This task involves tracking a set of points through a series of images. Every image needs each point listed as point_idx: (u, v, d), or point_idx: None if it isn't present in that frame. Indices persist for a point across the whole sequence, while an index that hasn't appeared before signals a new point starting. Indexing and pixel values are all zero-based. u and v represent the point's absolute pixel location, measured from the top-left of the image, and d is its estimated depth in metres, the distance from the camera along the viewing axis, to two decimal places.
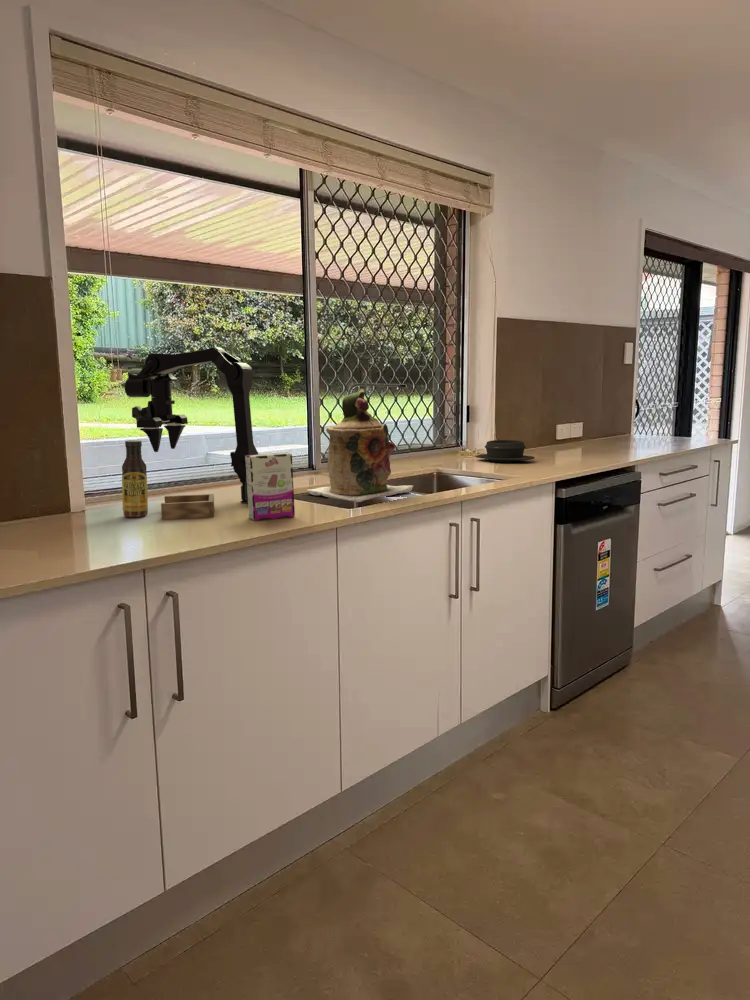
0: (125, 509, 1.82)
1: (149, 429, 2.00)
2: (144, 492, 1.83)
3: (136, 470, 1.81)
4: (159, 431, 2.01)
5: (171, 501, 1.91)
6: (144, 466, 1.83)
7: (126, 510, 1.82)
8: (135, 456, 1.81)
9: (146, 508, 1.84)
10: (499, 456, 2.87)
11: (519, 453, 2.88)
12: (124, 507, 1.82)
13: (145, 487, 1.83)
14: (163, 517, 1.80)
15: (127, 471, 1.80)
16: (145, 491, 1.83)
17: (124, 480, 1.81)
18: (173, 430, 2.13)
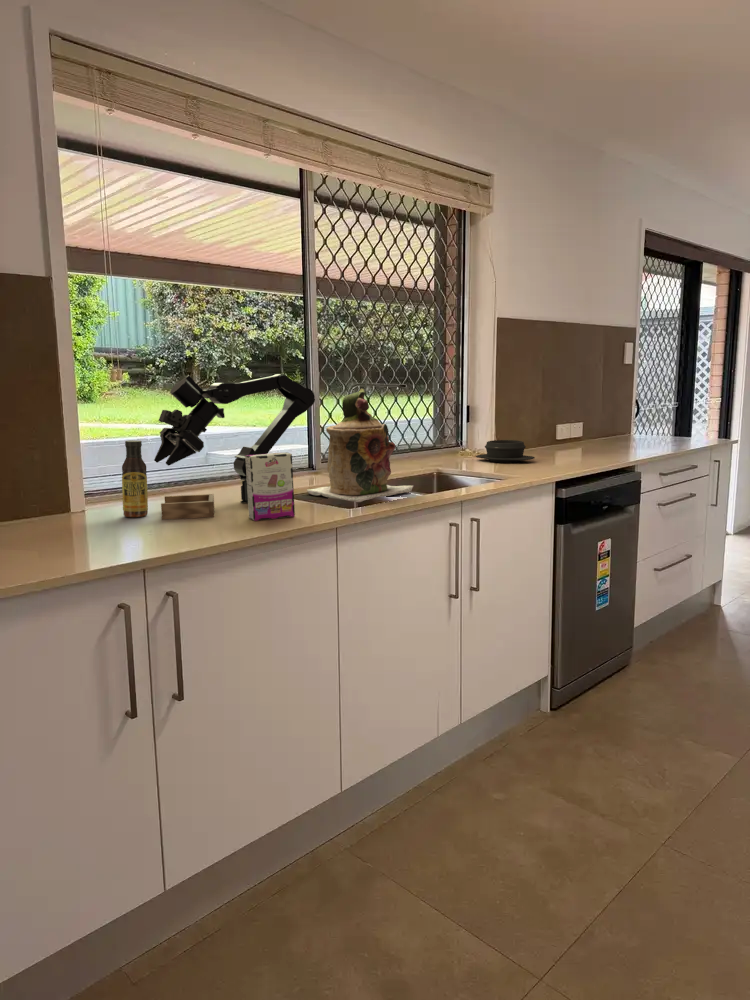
0: (125, 509, 1.82)
1: (189, 447, 1.83)
2: (144, 492, 1.83)
3: (136, 470, 1.81)
4: None
5: (171, 501, 1.91)
6: (144, 466, 1.83)
7: (126, 510, 1.82)
8: (135, 456, 1.81)
9: (146, 508, 1.84)
10: (499, 456, 2.87)
11: (519, 453, 2.88)
12: (124, 507, 1.82)
13: (145, 487, 1.83)
14: (163, 517, 1.80)
15: (127, 471, 1.80)
16: (145, 491, 1.83)
17: (124, 480, 1.81)
18: (169, 446, 1.93)
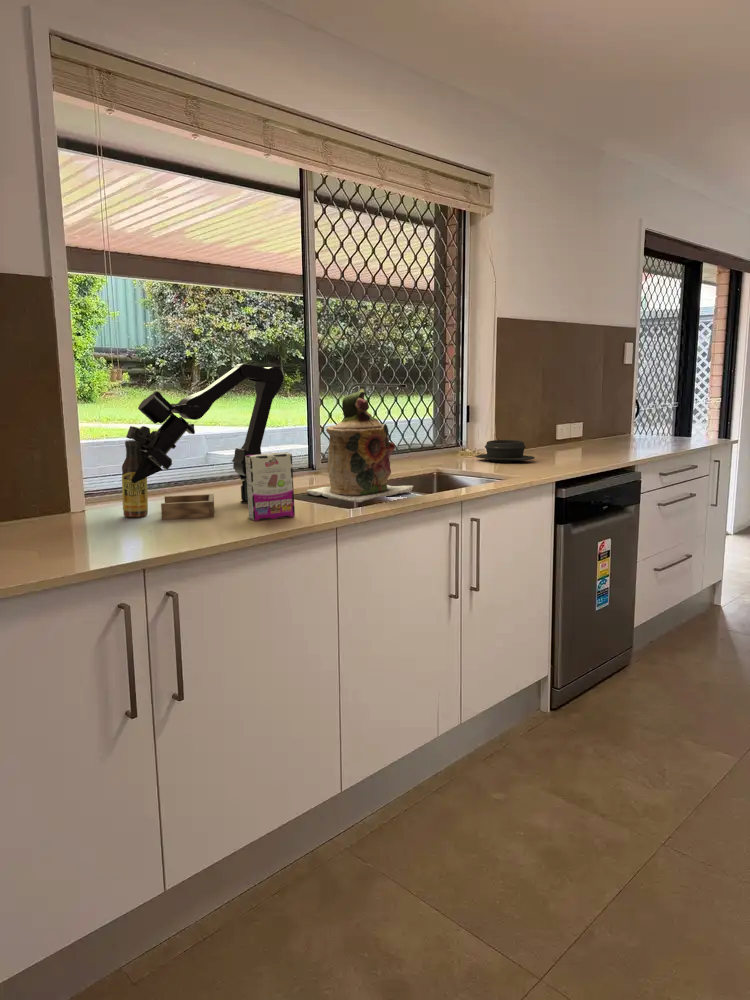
0: (125, 509, 1.82)
1: (155, 464, 1.79)
2: (144, 492, 1.83)
3: (136, 470, 1.81)
4: None
5: (171, 501, 1.91)
6: None
7: (126, 510, 1.82)
8: (135, 456, 1.81)
9: (146, 508, 1.84)
10: (499, 456, 2.87)
11: (519, 453, 2.88)
12: (124, 507, 1.82)
13: (145, 487, 1.83)
14: (163, 517, 1.80)
15: (127, 471, 1.80)
16: (145, 491, 1.83)
17: (124, 480, 1.81)
18: None
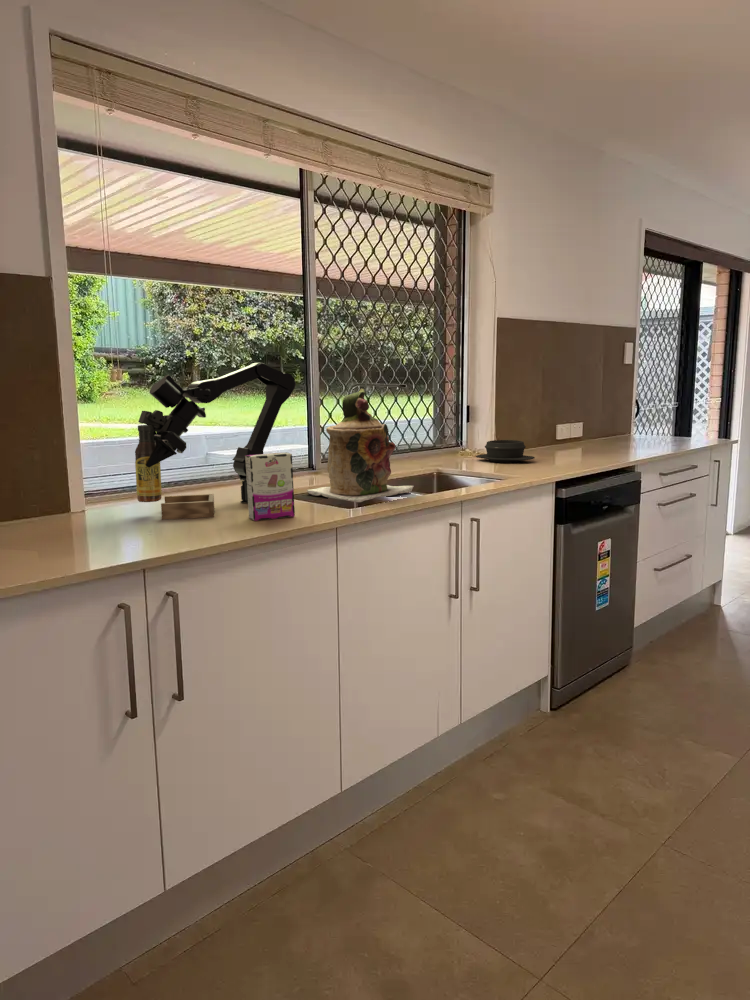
0: (139, 494, 1.82)
1: (169, 448, 1.80)
2: (158, 476, 1.83)
3: (150, 455, 1.80)
4: None
5: (171, 501, 1.91)
6: None
7: (141, 494, 1.82)
8: (148, 441, 1.81)
9: (160, 492, 1.84)
10: (499, 456, 2.87)
11: (519, 453, 2.88)
12: (138, 492, 1.82)
13: (159, 471, 1.83)
14: (163, 517, 1.80)
15: (141, 455, 1.80)
16: (159, 475, 1.83)
17: (138, 465, 1.81)
18: None
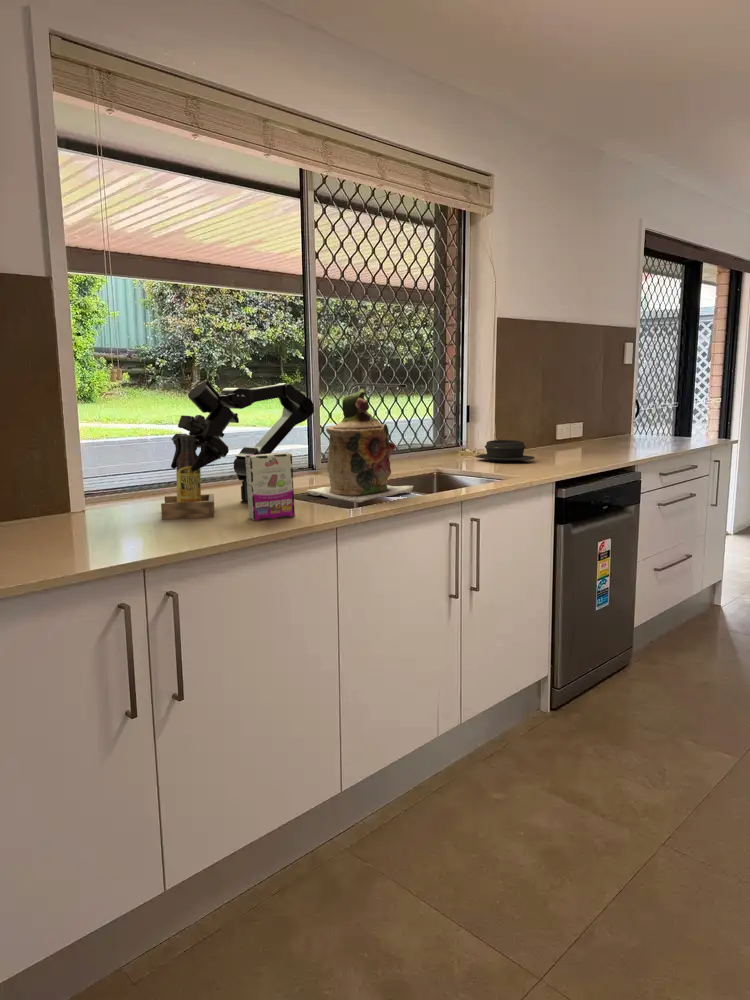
0: None
1: (215, 452, 1.82)
2: (199, 485, 1.86)
3: None
4: None
5: (171, 501, 1.91)
6: None
7: None
8: (191, 450, 1.84)
9: None
10: (499, 456, 2.87)
11: (519, 453, 2.88)
12: (180, 501, 1.85)
13: (200, 480, 1.87)
14: (163, 517, 1.80)
15: (185, 465, 1.83)
16: (200, 484, 1.87)
17: (181, 474, 1.83)
18: None
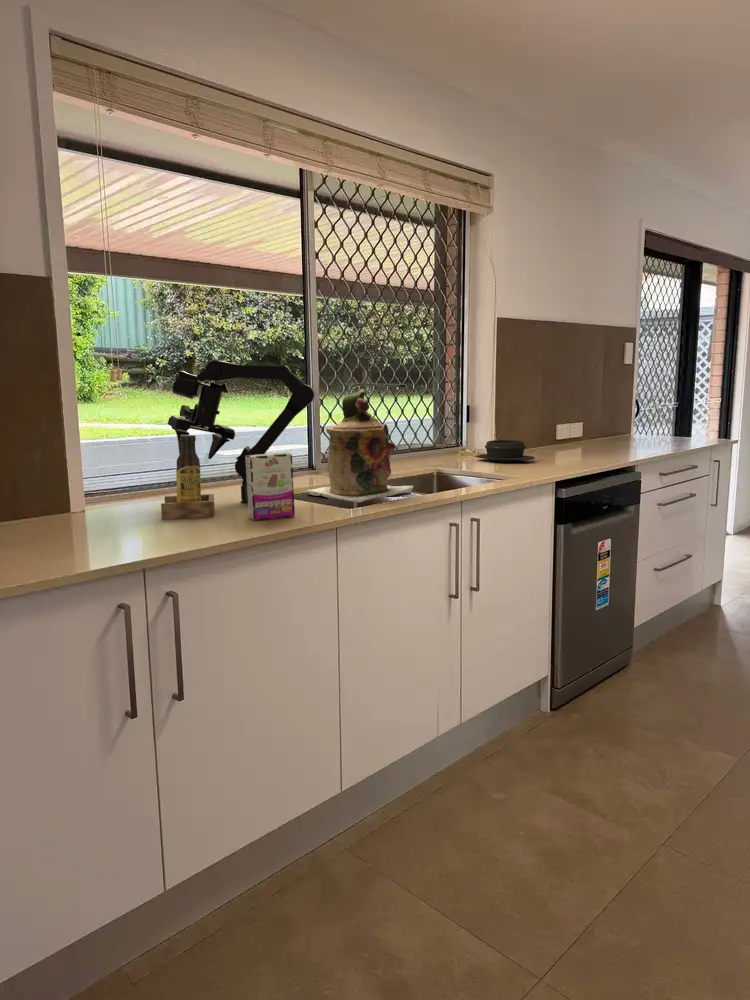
0: None
1: (175, 429, 1.95)
2: (199, 485, 1.86)
3: (193, 464, 1.84)
4: (183, 434, 1.95)
5: (171, 501, 1.91)
6: (198, 460, 1.86)
7: None
8: (191, 450, 1.84)
9: None
10: (499, 456, 2.87)
11: (519, 453, 2.88)
12: (180, 501, 1.85)
13: (200, 480, 1.87)
14: (163, 517, 1.80)
15: (185, 465, 1.83)
16: (200, 484, 1.87)
17: (181, 474, 1.83)
18: (215, 441, 2.04)
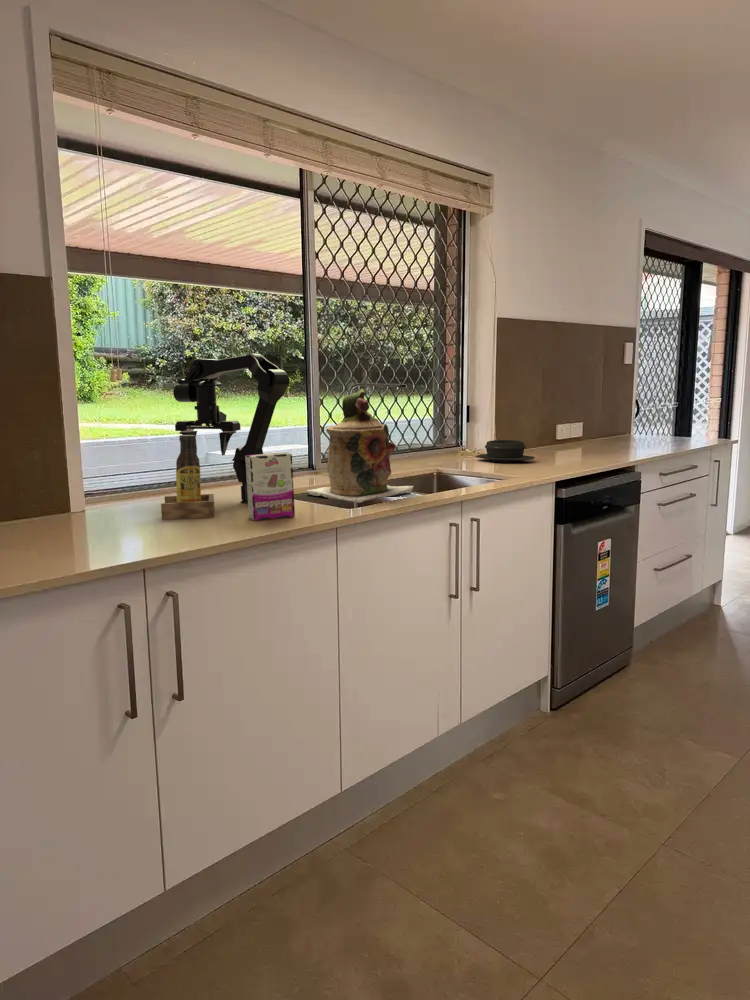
0: None
1: None
2: (199, 485, 1.86)
3: (193, 464, 1.84)
4: None
5: (171, 501, 1.91)
6: (198, 460, 1.86)
7: None
8: (191, 450, 1.84)
9: None
10: (499, 456, 2.87)
11: (519, 453, 2.88)
12: (180, 501, 1.85)
13: (199, 480, 1.87)
14: (163, 517, 1.80)
15: (184, 465, 1.83)
16: (200, 484, 1.87)
17: (180, 474, 1.83)
18: None
